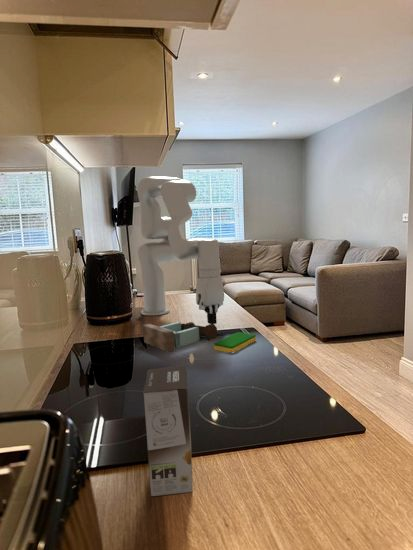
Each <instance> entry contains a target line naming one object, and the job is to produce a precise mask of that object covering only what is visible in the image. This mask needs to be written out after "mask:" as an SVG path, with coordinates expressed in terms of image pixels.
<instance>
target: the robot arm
mask: <svg viewBox="0 0 413 550" xmlns="http://www.w3.org/2000/svg"><path fill="white" fill-rule="evenodd" d="M196 189H197V188H196V187H195V184H193V182H191V181H189V180H187V179H186V180H185V179H182V178H179V177H173V176H172V177H171V176H154V175H153V176H144V177H143V178H141V179H140V180H139V182H138V183H137V197H138V202H139V204H140V230H141V235H142V237H143V238H144V239H146V240H159V239H160V240H161V239H162V241H151V242H150V241H149V242H144V243H142V244H140V245H139V247H138V249H137V256H138V259H139V263H140V264H139V265H140V270H141V279H142V280H141V281H142V295H143V302H142V304H141V306H142V307H143V308H144V309H142V310H140V311H141V315H144V316H148V317H149V316H150V317H151V316H152V317H153V316H162V315H165V314H168V313H169V312H170V308H169V307H166V291H165V290H166V289H165V278H164V277H165V275H164V271H163V270H162V268H161V266H159V264H163V263H170V262H173V261H175V259H176V258H177V259H178V260H181V261H187V260H196V259H197V260H198V278H197V279H196V287H195V288H196V289H195V290H196V291H195V301H196V302H195V304H196V305H198V310H200V311H204V312H205V313H206V318H207V323H208V325H209V324H214V325H216V324H217V313H218V309H220V307H221V306H223V305H224V301H225V290H224V283H223V278H222V276H221V273H222V268H221V265H220V245H219V241H218V239H216V238H203V237H197V238H196V237H195V238H184V239H183V237H182V234H181V232H180V226H181V225H183V224H185V223H186V222H188V221H189V220H190V219H191V218H192V216H193V210H192V208H191V206H190V204H189V203H192V202H194V201H195V199H196V198H197V190H196ZM157 198H162V200H163V202H164V205H165V207H166V209H167V212H168V215H169V217H168V216H162V215H161V213H162V211H161V210H162V209H161V204H160V203H159V201H158V199H157Z"/></svg>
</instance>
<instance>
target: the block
mask: <svg viewBox="0 0 413 550" xmlns="http://www.w3.org/2000/svg"><path fill="white" fill-rule="evenodd" d="M181 324H182V323H181V322H180V321H177V322H176V321H175V322H172V323H169V324H165V325H160V326H159V327H161V328H164V329H168V330H171V331H173V333H174V348H180V347H182V346H186V345H189V344H193V343H196V342H199V341H200V335H199V327H193V328H190V329H186V330H182V331H181Z"/></svg>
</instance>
